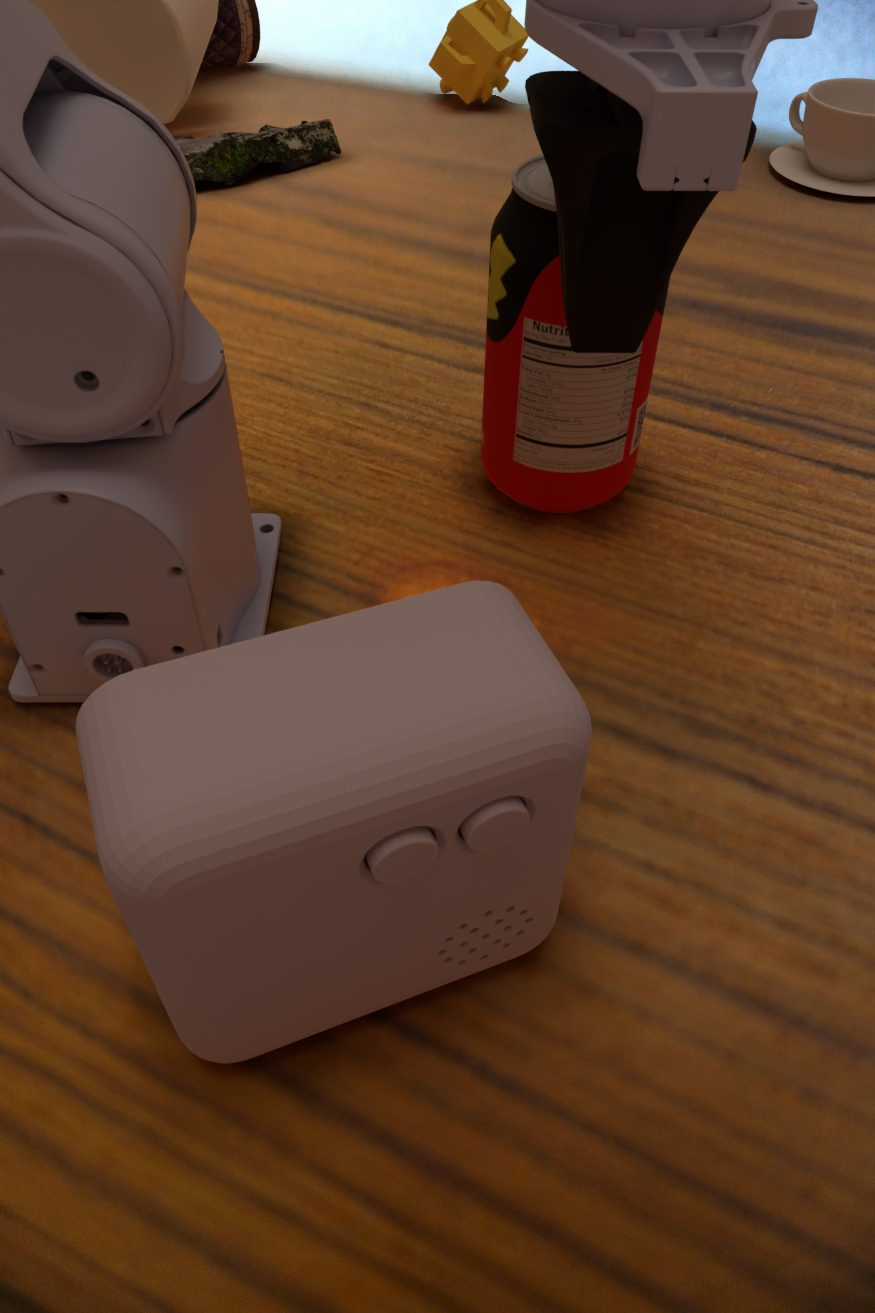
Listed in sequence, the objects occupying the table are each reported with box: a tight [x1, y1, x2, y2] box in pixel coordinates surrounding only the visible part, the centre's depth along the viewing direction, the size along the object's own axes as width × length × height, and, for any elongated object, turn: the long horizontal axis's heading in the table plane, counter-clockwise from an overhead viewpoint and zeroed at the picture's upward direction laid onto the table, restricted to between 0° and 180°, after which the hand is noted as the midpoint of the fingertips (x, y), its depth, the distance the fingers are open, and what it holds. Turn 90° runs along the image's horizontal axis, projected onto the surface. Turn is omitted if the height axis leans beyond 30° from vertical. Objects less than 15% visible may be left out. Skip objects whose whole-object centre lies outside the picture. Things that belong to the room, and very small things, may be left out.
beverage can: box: [480, 153, 671, 514], centre depth 36 cm, size 6×6×12 cm
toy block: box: [428, 0, 530, 105], centre depth 72 cm, size 8×8×6 cm
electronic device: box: [74, 580, 593, 1064], centre depth 22 cm, size 10×5×10 cm, turn 112°
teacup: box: [769, 77, 875, 197], centre depth 62 cm, size 10×10×5 cm
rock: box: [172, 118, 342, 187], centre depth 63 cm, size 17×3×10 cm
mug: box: [198, 0, 261, 72], centre depth 77 cm, size 10×7×12 cm
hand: (602, 342), depth 30 cm, fingers closed
